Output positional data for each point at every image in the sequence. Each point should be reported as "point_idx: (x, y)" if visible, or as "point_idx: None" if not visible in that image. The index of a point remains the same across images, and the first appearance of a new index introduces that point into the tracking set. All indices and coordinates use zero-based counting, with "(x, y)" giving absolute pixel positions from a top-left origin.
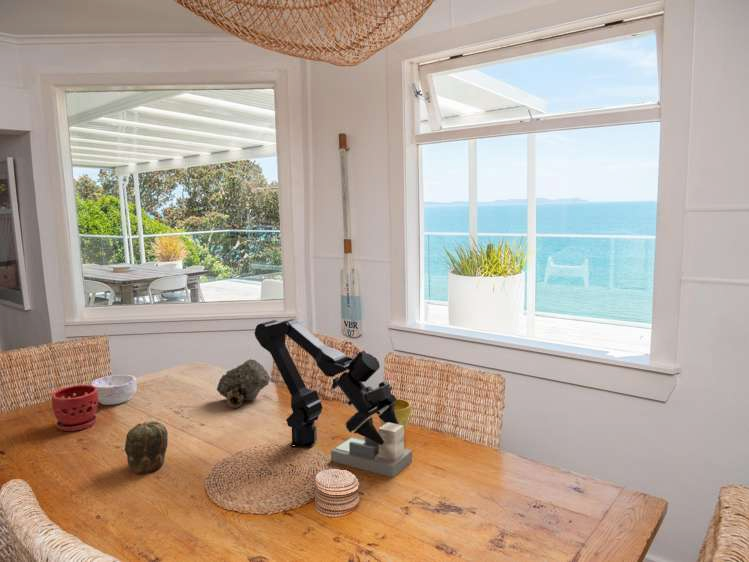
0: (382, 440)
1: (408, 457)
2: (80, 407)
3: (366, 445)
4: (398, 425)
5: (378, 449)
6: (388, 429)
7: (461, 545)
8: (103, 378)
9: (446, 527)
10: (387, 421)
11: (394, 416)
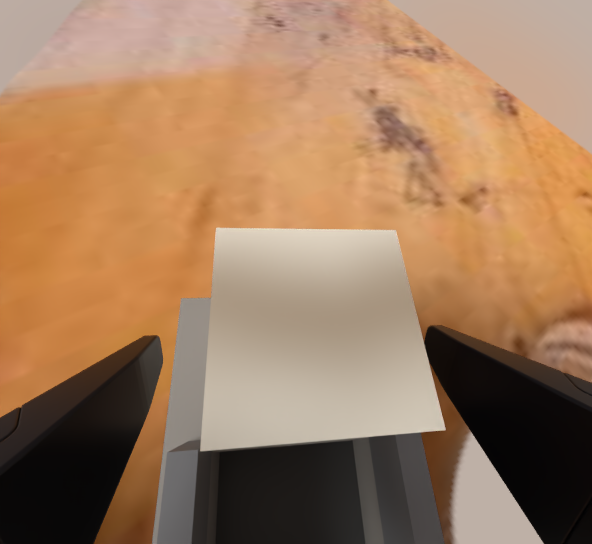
0: (449, 330)
1: None
2: None
3: (415, 520)
4: (240, 271)
5: (212, 519)
6: (390, 308)
7: (477, 87)
8: None
9: (456, 115)
10: (75, 541)
11: (7, 433)
